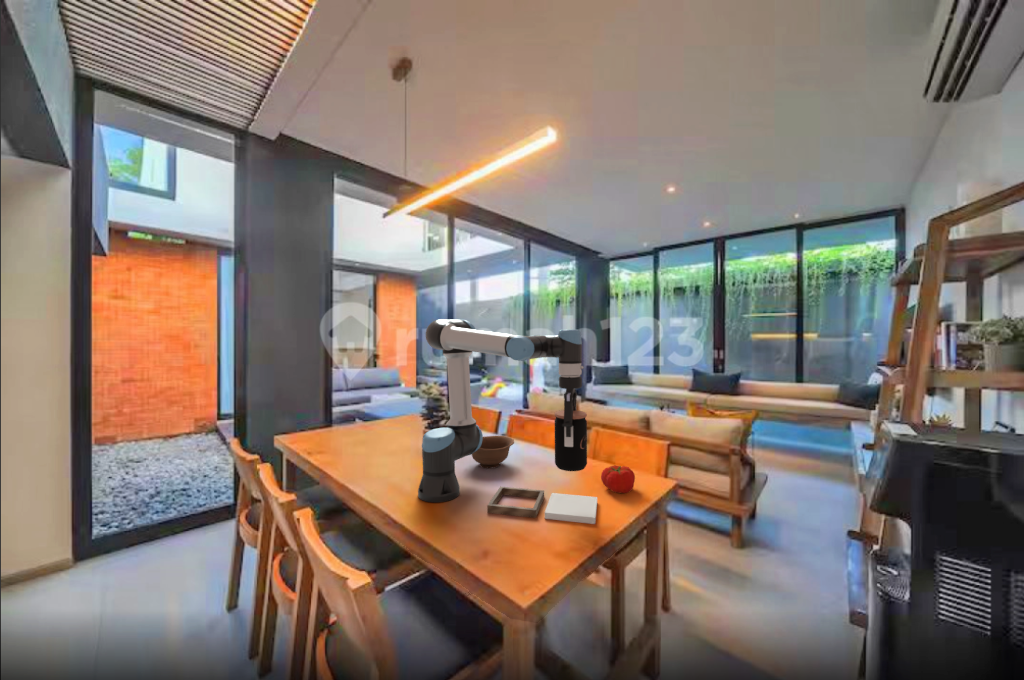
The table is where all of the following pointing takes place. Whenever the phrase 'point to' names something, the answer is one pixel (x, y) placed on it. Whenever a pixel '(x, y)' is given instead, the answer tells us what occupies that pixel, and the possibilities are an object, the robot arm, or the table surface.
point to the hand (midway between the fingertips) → (570, 441)
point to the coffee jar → (577, 454)
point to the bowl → (493, 451)
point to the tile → (572, 508)
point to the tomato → (618, 478)
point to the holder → (512, 509)
